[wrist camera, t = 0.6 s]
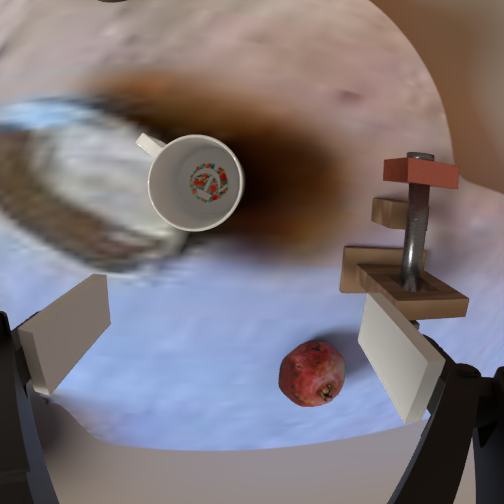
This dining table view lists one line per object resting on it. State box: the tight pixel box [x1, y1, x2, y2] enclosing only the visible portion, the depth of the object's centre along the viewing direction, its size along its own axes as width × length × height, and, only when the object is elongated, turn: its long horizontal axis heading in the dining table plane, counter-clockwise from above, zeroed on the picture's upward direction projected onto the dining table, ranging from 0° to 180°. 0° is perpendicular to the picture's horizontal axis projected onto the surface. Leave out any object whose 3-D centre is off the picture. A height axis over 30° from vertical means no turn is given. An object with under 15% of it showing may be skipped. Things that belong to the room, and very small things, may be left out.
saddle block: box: [371, 198, 429, 231], centre depth 37 cm, size 3×5×6 cm, turn 88°
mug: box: [136, 133, 246, 231], centre depth 34 cm, size 12×9×11 cm
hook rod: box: [383, 152, 459, 330], centre depth 32 cm, size 19×6×7 cm, turn 178°
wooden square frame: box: [339, 246, 469, 320], centre depth 34 cm, size 6×12×14 cm, turn 88°
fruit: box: [279, 341, 345, 407], centre depth 40 cm, size 9×10×10 cm
